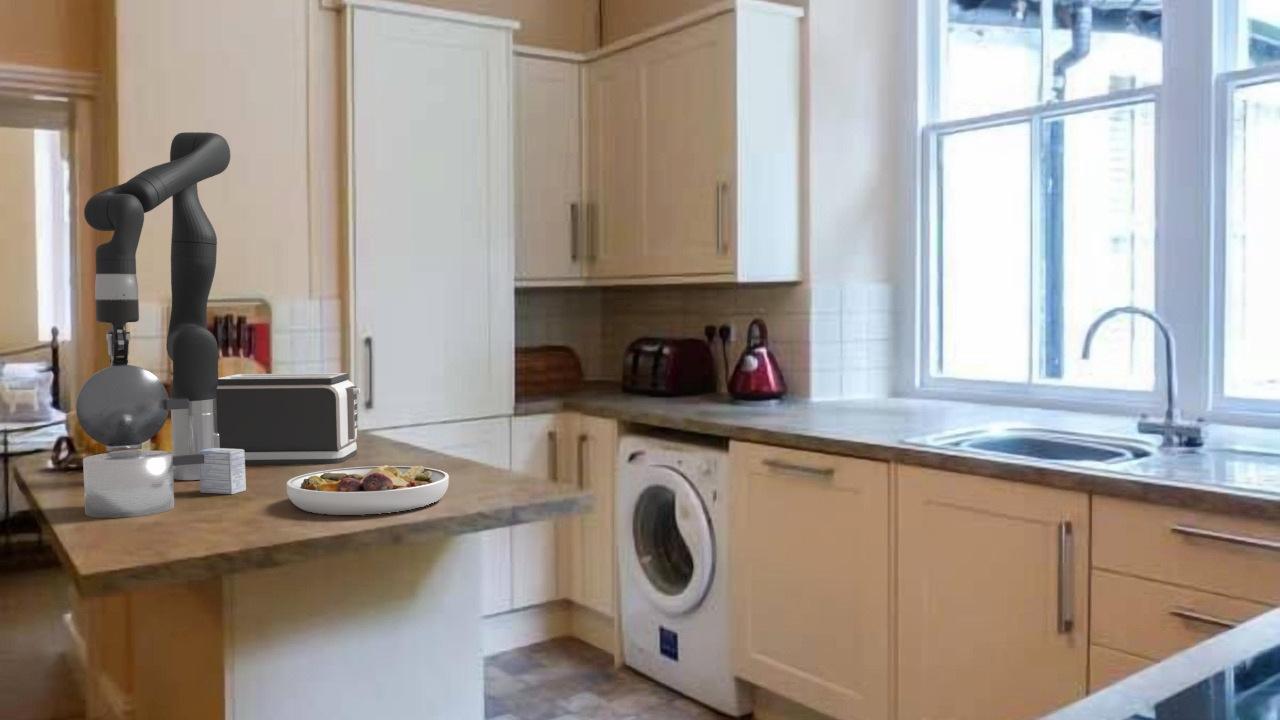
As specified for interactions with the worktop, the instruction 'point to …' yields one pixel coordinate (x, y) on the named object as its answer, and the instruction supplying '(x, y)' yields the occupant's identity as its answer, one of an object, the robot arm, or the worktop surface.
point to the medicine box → (223, 471)
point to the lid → (124, 406)
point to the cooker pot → (131, 482)
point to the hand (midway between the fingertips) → (119, 386)
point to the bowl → (367, 489)
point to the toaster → (288, 417)
